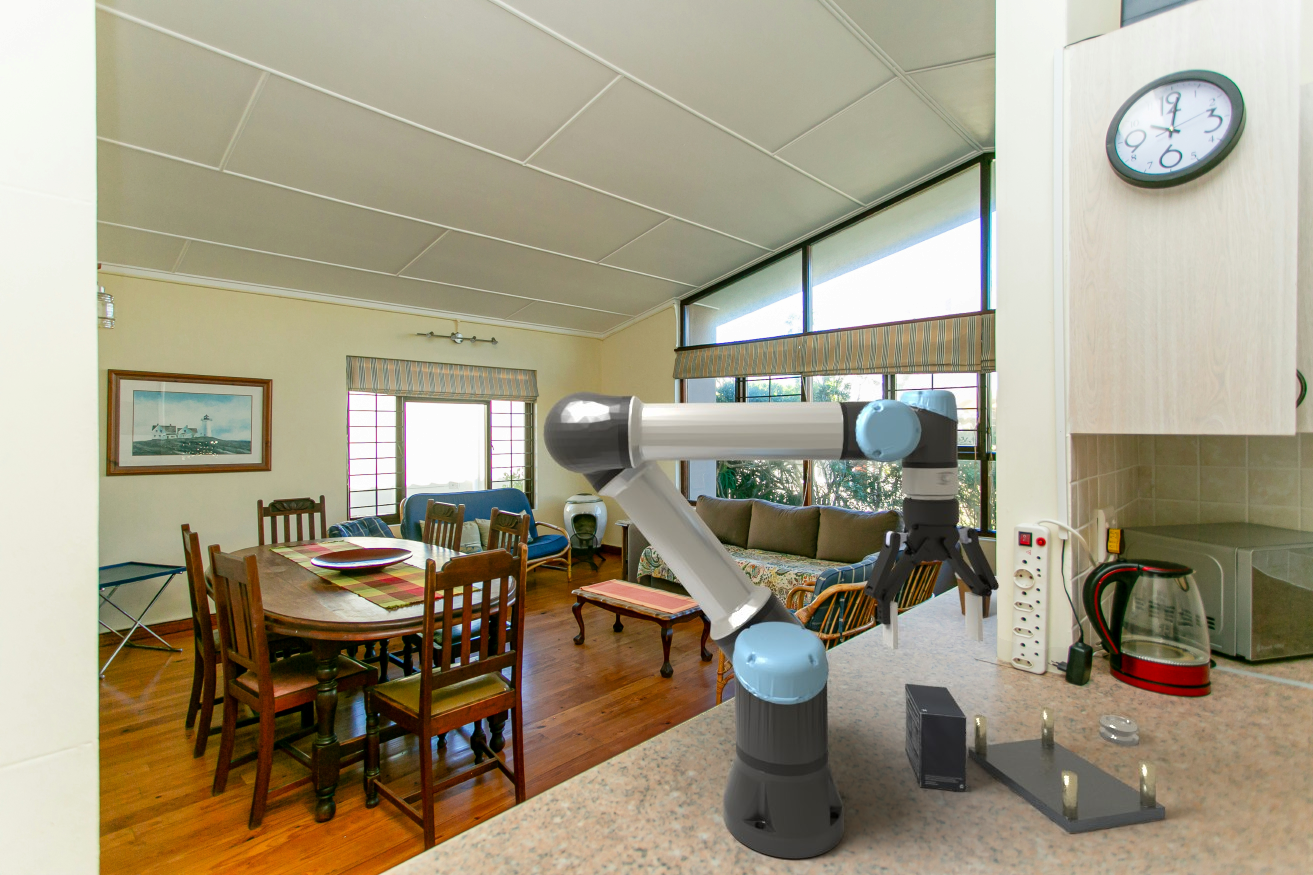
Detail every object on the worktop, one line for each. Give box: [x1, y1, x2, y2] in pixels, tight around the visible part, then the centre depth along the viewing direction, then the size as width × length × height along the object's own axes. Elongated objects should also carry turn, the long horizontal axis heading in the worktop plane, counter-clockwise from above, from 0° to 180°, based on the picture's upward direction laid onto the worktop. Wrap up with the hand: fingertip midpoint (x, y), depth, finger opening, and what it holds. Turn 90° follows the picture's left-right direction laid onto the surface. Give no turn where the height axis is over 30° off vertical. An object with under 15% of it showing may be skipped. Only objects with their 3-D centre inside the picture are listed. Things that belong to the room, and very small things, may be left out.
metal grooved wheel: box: [1098, 714, 1140, 748], centre depth 96 cm, size 5×3×5 cm
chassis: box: [967, 706, 1166, 835], centre depth 84 cm, size 14×18×6 cm
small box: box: [904, 683, 967, 792], centre depth 88 cm, size 11×6×10 cm, turn 168°
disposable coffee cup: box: [954, 566, 992, 619], centre depth 162 cm, size 10×10×12 cm
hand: (932, 642), depth 88 cm, fingers open, 13 cm apart
